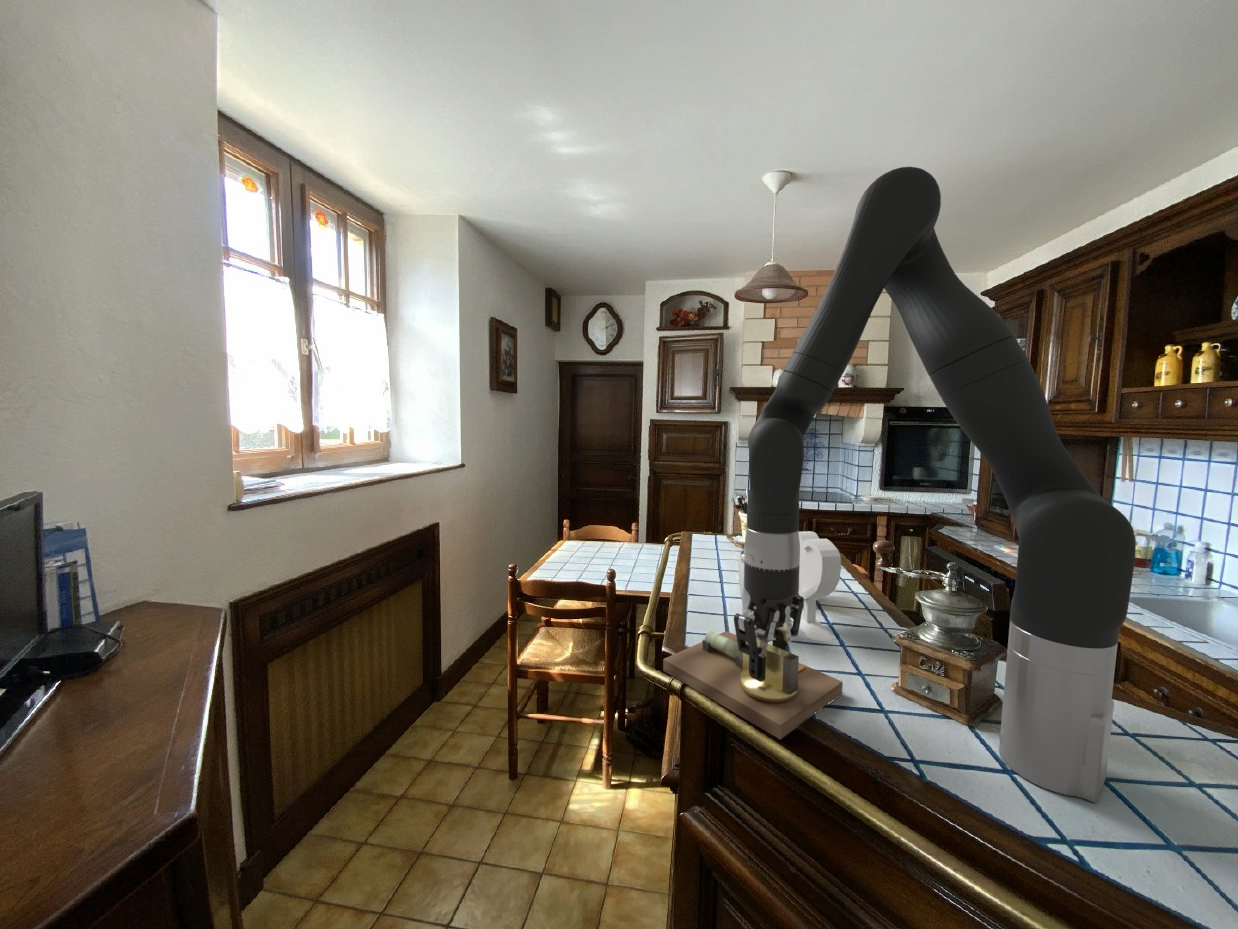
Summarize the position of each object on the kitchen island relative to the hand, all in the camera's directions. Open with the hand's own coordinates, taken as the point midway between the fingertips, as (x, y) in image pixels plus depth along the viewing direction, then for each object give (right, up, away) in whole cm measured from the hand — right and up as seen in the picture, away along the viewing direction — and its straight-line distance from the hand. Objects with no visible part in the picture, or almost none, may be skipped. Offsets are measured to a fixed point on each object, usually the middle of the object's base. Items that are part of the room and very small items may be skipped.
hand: (768, 671), depth 72 cm
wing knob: (0, -3, 0) cm, 3 cm away
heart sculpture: (+16, -2, +26) cm, 30 cm away
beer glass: (+5, -2, +25) cm, 25 cm away
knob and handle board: (-2, -4, +6) cm, 7 cm away
